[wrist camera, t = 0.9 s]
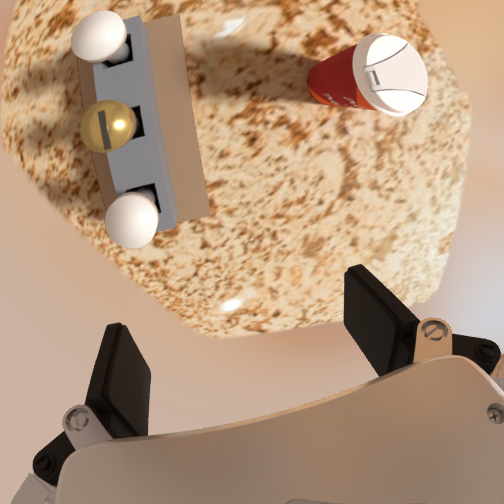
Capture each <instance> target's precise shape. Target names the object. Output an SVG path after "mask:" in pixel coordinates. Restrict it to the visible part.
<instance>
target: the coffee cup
mask: <svg viewBox="0 0 504 504" xmlns="http://www.w3.org/2000/svg"><path fill="white" fill-rule="evenodd" d="M307 84H308V88H309V91H310V93H311V94H312V96H313V97H314V98H315V99H316V100H317V101H319V102H321V103H323V104H326V105H331V106H340V107H351V108H360V109H369V110H377V111H380V112H381V113H383V114H386V115H389V116H403V115H406V114H408V113H410V112H411V111H413V110H415V109H416V108H418V107H419V106H420V105H421V104H422V102H423V101H424V99H425V97H426V93H427V87H428V77H427V72H426V68H425V65H424V63H423V61H422V59H421V57H420V55H419V54H418V52H417V51H416V50H415V49H414V48H413V47H412V46H411V45H410V44H409V43H408V42H407V41H405V40H404V39H402V38H400V37H397V36H393V35H389V34H386V33H373V34H369V35H367V36H365V37H364V38H363V39H361V41H360V42H359V43H358V44H356V45H354V46H352V47H350V48H348V49H346V50H344V51H341V52H339V53H338V54H336V55H334V56H332V57H330V58H328V59H326V60H324V61H322V62H321V63H319V64H317V65H316V66H315V67H313V68H312V70H311V71H310V73H309V75H308V79H307Z"/></svg>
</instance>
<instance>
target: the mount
mask: <svg viewBox="0 0 504 504" xmlns="http://www.w3.org/2000/svg"><path fill="white" fill-rule="evenodd" d="M122 21H123V22H124V24H125V25H126V28H127V37H126V41H125V43H126V44H127V45H128V46H129V47H130V48H131V49H132V52H133V57H132V60H131V61H130V62H127V63H123V64H120V65H117V66H116V65H114V64H113V63H111V62H110V61H108V60H105V61H102V62H98V63H92V62H88V61H86V60H84V59H82V58H80V57H78V56H77V59H78V70H79V80H80V88H81V96H82V103H83V110H84V114H85V112H86V111H87V109H88V108H89V107H90V106H92V105H93V104H95V103H96V102H99V101H102V100H114V101H118V102H122V103H125V104H127V105H128V106H129V107H130V108H131V109H132V110H133V112H134V113H135V114H138V115H139V116H140V117H141V118H142V121H143V127H142V129H141V131H140V132H139V133H137V134H136V135H133V137H132V138H131V140H130V141H129V142H128V143H127V144H126V145H124V146H123V147H121V148H118V149H116V150H113V151H110V152H107V153H98V152H94V151H92V150H91V153H92V158H93V162H94V166H95V171H96V175H97V179H98V183H99V187H100V191H101V195H102V198H103V202H104V206H105V209H106V212H107V210H108V208H109V207H110V205H111V204H112V203H113V202H114V201H115V200H116V199H117V198H118V197H119V196H121V195H123V194H125V193H128V192H136V191H137V190H138V189H139V188H140V187H141V186H143V185H151V186H153V187H154V188H155V189H156V191H157V195H158V196H157V200H156V202H155V205H156V207H157V210H158V214H159V220H158V225H157V228H156V231H155V232H158V231H163V230H167V229H172V228H175V225H176V223H178V222H182V221H187V220H192V219H197V218H202V217H207V216H211V212H210V207H209V201H208V196H207V191H206V185H205V180H204V174H203V168H202V163H201V157H200V151H199V145H198V139H197V133H196V127H195V121H194V115H193V109H192V102H191V96H190V89H189V82H188V75H187V68H186V61H185V54H184V46H183V39H182V31H181V23H180V15H176V16H171V17H166V18H161V19H157V20H152V21H148V22H144V23H143V22H142V20H141V18H140V16H136V17H132V18H128V19H125V20H122Z"/></svg>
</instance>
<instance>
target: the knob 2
mask: <svg viewBox="0 0 504 504" xmlns="http://www.w3.org/2000/svg"><path fill="white" fill-rule="evenodd" d="M157 196H158V195H157V191H156V189H155V188H154V187H153V186H151V185H143V186H141V187H140V188H139V189H138V190H137V191H136V192H128V193H125V194H123V195H121V196H119V197H118V198H117V199H116V200H115V201H114V202H113V203H112V204H111V205H110V207H109V208H108V210H107V212H106V215H105V228H106V231H107V233H108V235H109V237H110V238H111V239H112V240H113V241H114V242H115V243H116V244H118V245H119V246H121V247H124V248H129V249H135V248H140V247H142V246H144V245H146V244H147V243H148V242H149V241H150V240H151V239H152V238H153V236H154V234H155V231H156V228H157V225H158V220H159V214H158V210H157V207H156V205H155V202H156V200H157Z"/></svg>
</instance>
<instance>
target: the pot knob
mask: <svg viewBox="0 0 504 504" xmlns="http://www.w3.org/2000/svg"><path fill="white" fill-rule="evenodd" d="M142 127H143V121H142V118H141V117H140V116H139V115H138V114H135V113H134V112H133V110H132V109H131V108H130V107H129V106H128V105H127V104H125V103H122V102H118V101H114V100H102V101H99V102H96V103H95V104H93V105H92V106H90V107H89V108H88V109H87V111H86V112H85V114H84V115H83V117H82V120H81V124H80V135H81V138H82V141H83V142H84V144H85V145H86V146H87V147H88V148H89V149H90V150H92V151H94V152H98V153H107V152H110V151H113V150H116V149H118V148H121V147H123V146H124V145H126V144H127V143H128V142H129V141H130V140H131V138H132V137H133V135H136V134H137V133H139V132H140V131H141V129H142Z"/></svg>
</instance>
